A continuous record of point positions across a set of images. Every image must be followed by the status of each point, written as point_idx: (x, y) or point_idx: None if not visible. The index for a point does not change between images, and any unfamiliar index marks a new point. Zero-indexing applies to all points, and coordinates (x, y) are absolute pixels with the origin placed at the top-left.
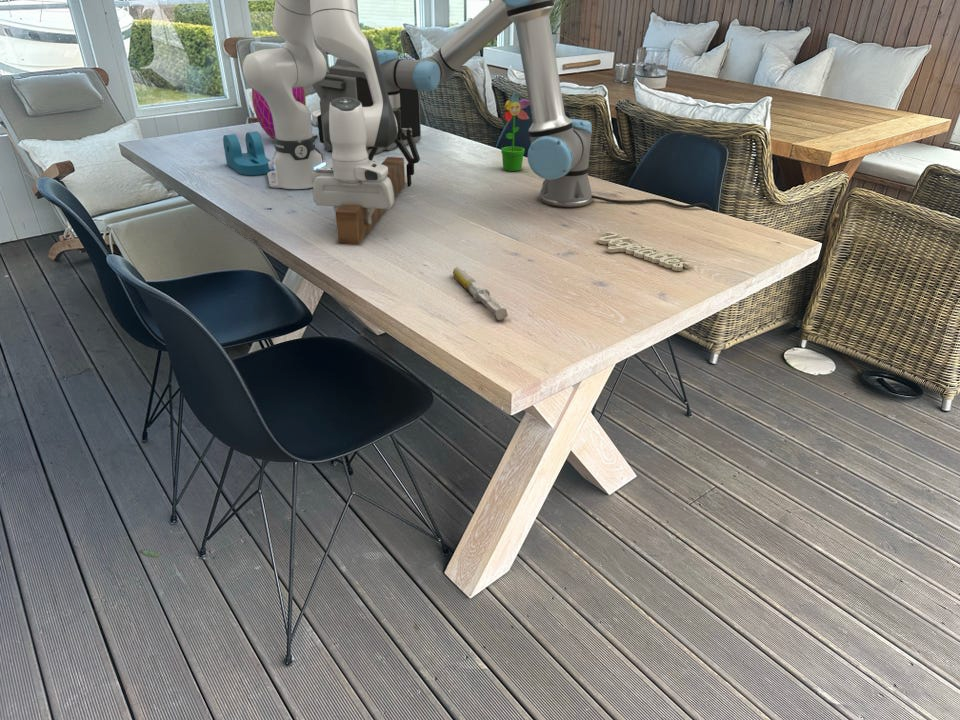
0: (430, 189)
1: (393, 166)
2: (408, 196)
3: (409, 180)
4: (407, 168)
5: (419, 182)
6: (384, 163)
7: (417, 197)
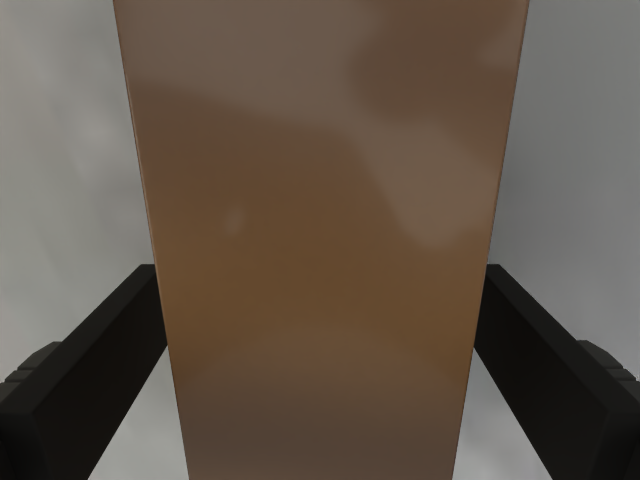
0: (37, 337)
1: (209, 311)
2: (130, 134)
3: (113, 294)
4: (47, 376)
5: (177, 462)
6: (409, 445)
7: (42, 117)
